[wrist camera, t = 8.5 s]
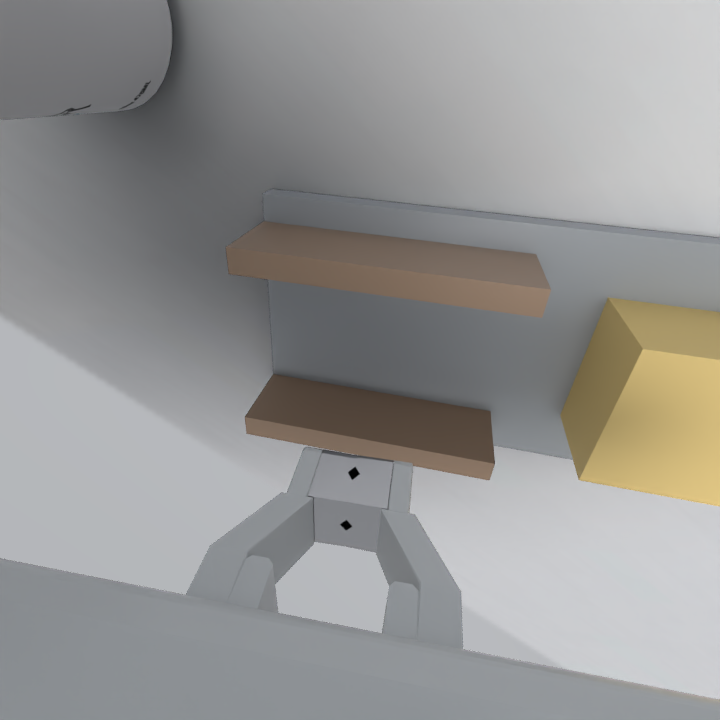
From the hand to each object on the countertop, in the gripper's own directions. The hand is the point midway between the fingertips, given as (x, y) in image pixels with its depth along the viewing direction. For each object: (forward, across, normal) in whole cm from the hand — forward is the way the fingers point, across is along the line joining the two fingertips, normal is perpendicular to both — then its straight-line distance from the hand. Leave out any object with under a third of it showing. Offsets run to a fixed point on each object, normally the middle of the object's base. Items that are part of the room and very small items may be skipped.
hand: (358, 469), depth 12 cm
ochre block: (+8, -11, +1) cm, 14 cm away
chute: (+10, -4, +1) cm, 11 cm away
